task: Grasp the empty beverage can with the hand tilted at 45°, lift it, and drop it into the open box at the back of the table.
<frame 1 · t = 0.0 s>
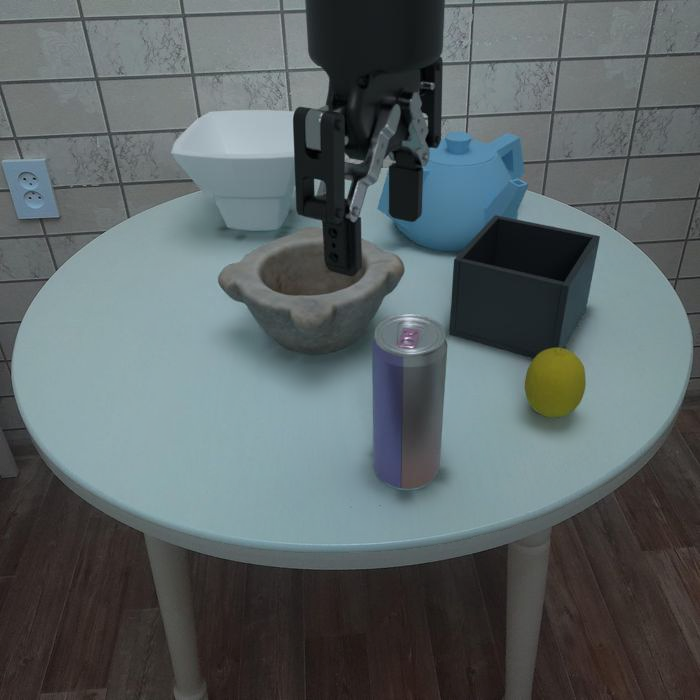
hand: (376, 243, 47), 25 cm above the table, tool pointing down, fingers open, 8 cm apart
open box: (518, 321, 85), on the table
beverage can: (406, 471, 65), on the table
lemon: (549, 417, 71), on the table
teapot: (455, 230, 105), on the table
bowl: (259, 224, 108), on the table
mortar: (315, 334, 84), on the table
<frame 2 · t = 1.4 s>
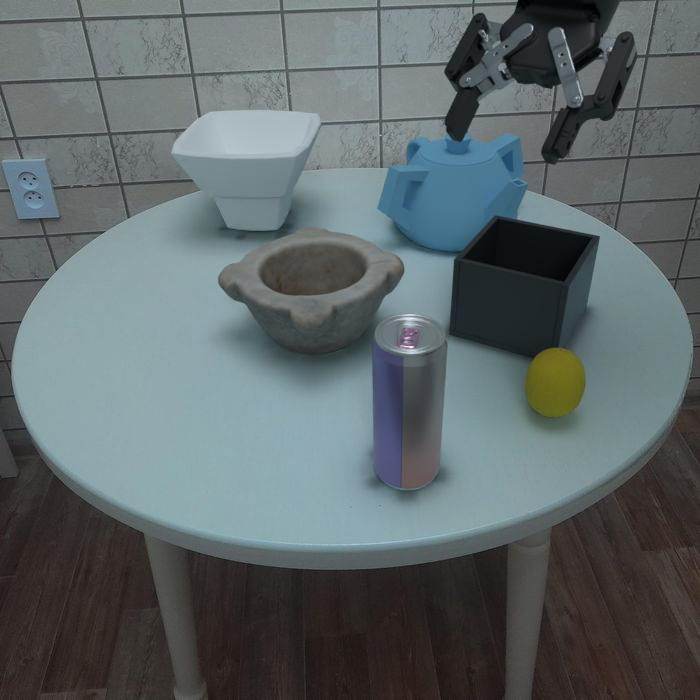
hand: (498, 147, 57), 26 cm above the table, tool tilted 45°, fingers open, 8 cm apart
nothing on the table moved.
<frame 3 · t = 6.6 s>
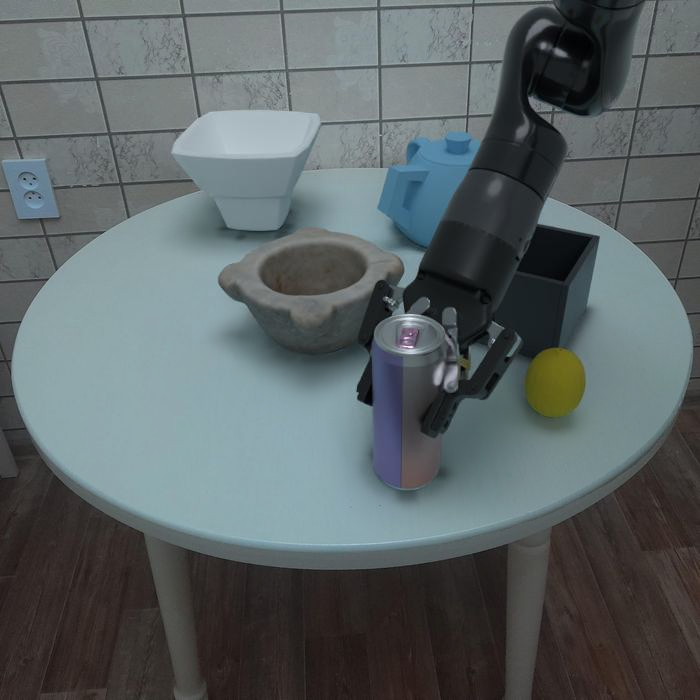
hand: (395, 418, 60), 7 cm above the table, tool tilted 45°, fingers closed on beverage can, 6 cm apart
beverage can: (406, 471, 65), on the table, touching gripper
everything else where it was.
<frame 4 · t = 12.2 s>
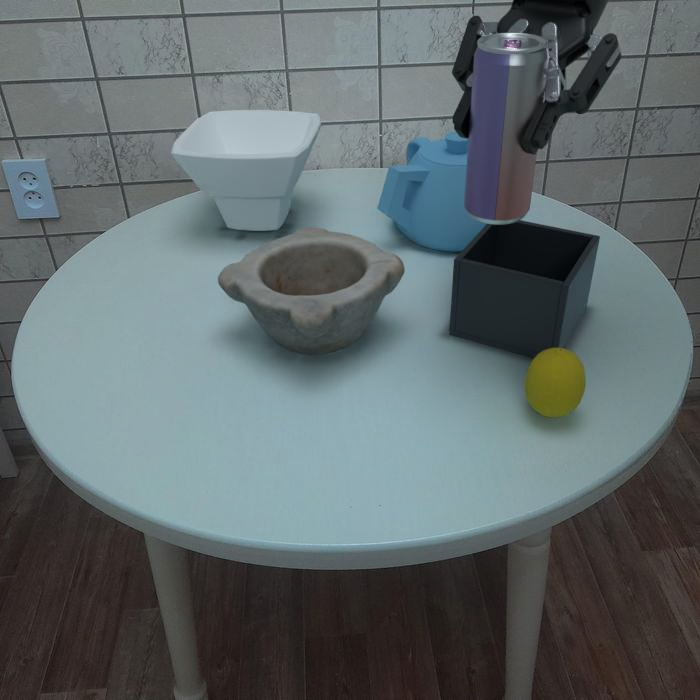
hand: (493, 140, 61), 25 cm above the table, tool tilted 45°, fingers closed on beverage can, 6 cm apart
beverage can: (495, 214, 67), point 18 cm above the table, touching gripper
everything else where it was.
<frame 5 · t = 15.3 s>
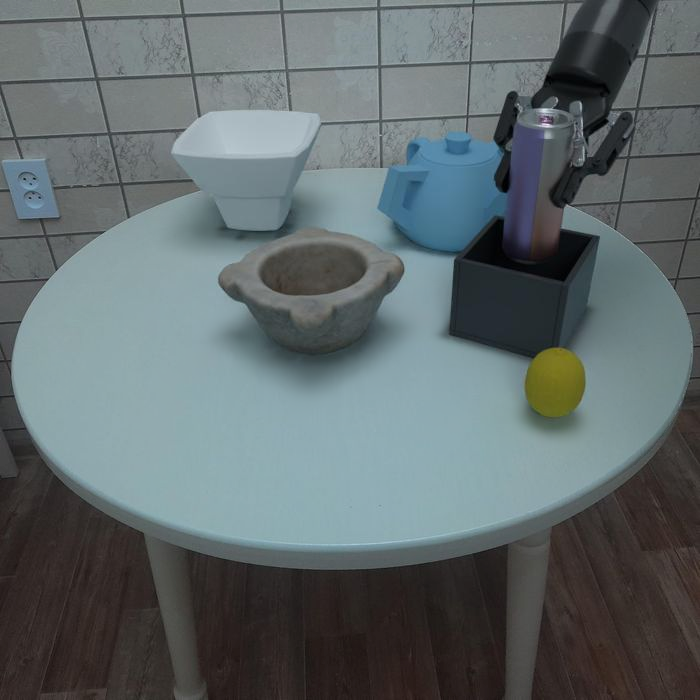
hand: (528, 196, 74), 16 cm above the table, tool tilted 45°, fingers closed on beverage can, 6 cm apart
beverage can: (528, 254, 80), point 9 cm above the table, touching gripper
everything else where it was.
when the fingers open (8 cm above the table, at t = 18.0 s): beverage can stays where it is, resting on open box.
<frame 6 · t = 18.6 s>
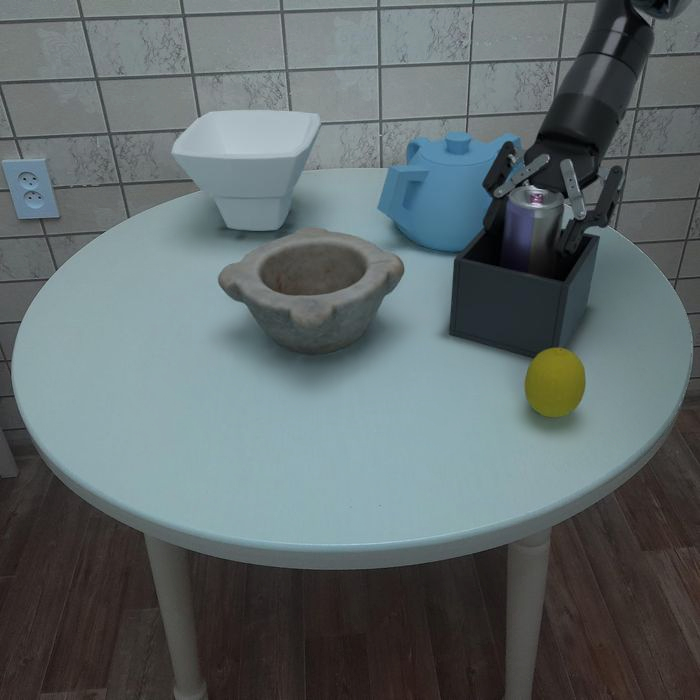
hand: (523, 244, 78), 11 cm above the table, tool tilted 45°, fingers open, 8 cm apart
beverage can: (520, 317, 84), point 1 cm above the table, touching open box
everything else where it was.
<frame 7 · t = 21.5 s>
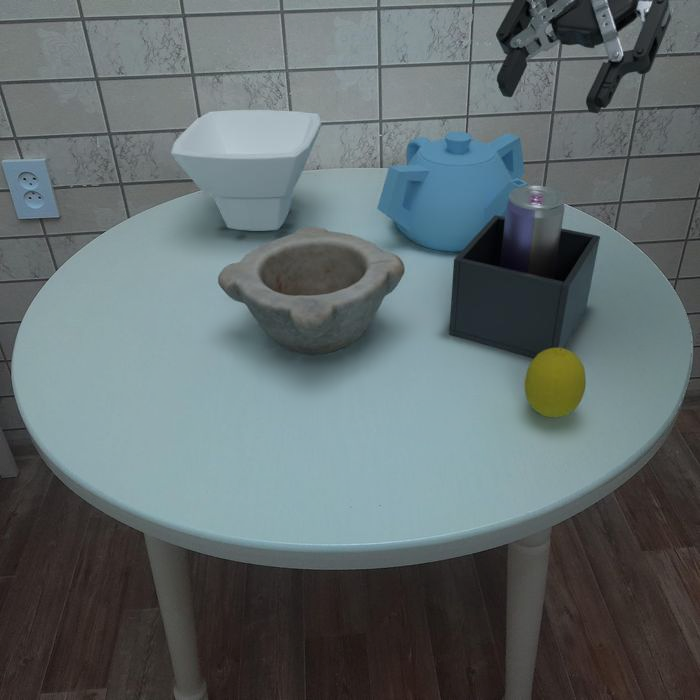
hand: (546, 100, 64), 27 cm above the table, tool tilted 45°, fingers open, 8 cm apart
nothing on the table moved.
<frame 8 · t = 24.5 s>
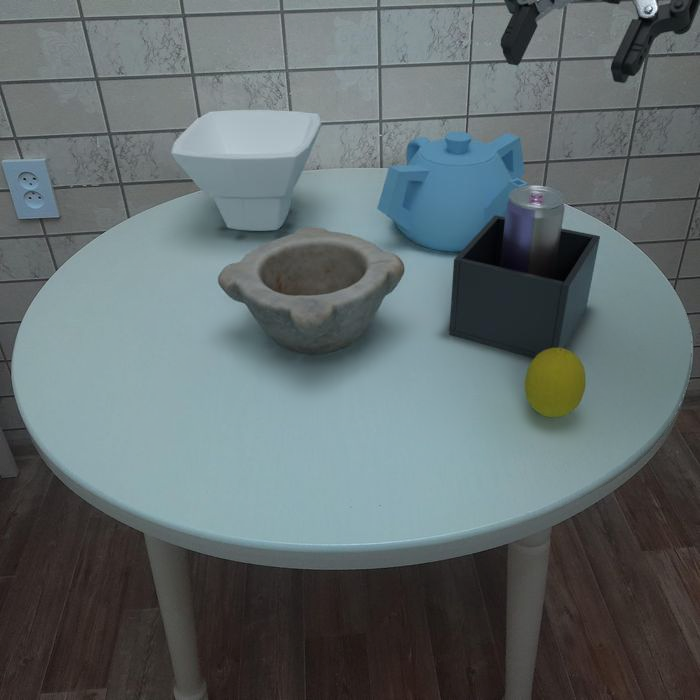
hand: (561, 67, 53), 33 cm above the table, tool tilted 45°, fingers open, 8 cm apart
nothing on the table moved.
at the end: beverage can inside the target area in the open box (0.1 cm from its centre), point 0.5 cm above the open box's base; the gripper is holding nothing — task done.
